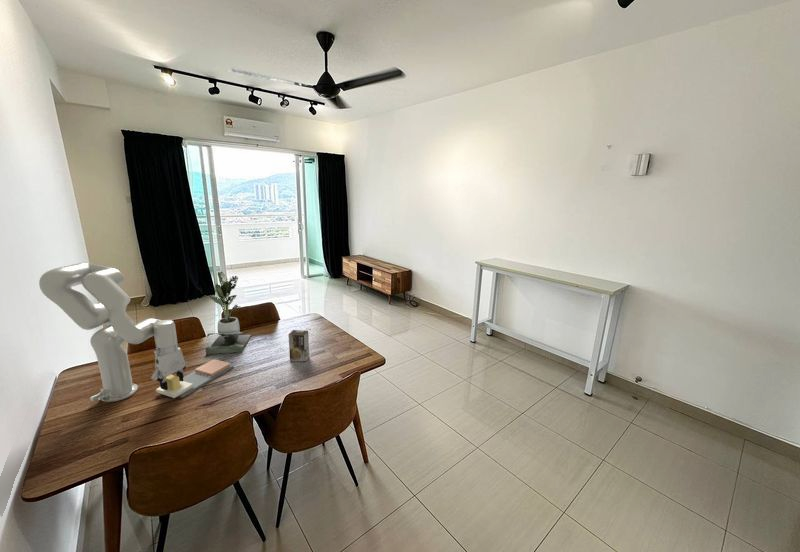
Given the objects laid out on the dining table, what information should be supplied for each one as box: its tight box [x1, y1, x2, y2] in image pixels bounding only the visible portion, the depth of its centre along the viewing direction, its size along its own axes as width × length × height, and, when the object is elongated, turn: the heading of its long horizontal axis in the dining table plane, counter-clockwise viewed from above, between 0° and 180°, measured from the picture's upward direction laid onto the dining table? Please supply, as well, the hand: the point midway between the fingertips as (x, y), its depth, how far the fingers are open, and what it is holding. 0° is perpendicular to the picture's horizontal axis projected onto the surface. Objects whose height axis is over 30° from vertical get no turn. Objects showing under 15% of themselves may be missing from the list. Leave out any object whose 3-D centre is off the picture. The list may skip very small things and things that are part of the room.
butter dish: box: [155, 374, 194, 399], centre depth 142 cm, size 9×11×7 cm
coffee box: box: [287, 329, 310, 362], centre depth 175 cm, size 9×6×16 cm
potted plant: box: [205, 271, 252, 355], centre depth 184 cm, size 22×19×45 cm
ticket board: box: [177, 358, 234, 399], centre depth 154 cm, size 28×13×3 cm, turn 161°
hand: (172, 384), depth 141 cm, fingers open, 6 cm apart
